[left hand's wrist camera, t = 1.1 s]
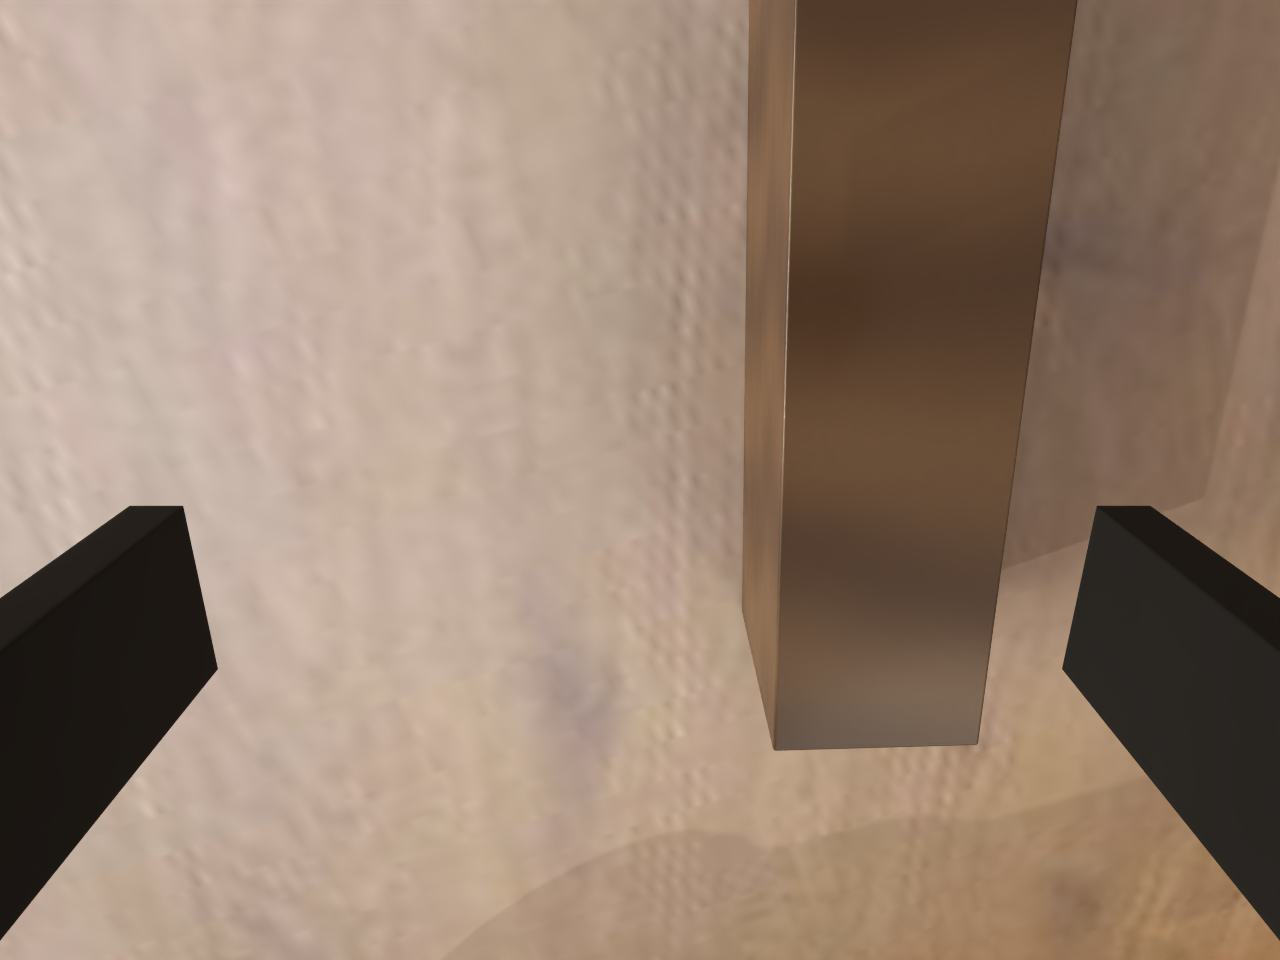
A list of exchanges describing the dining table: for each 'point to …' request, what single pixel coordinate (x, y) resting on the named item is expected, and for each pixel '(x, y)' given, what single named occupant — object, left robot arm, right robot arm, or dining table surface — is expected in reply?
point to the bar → (888, 349)
